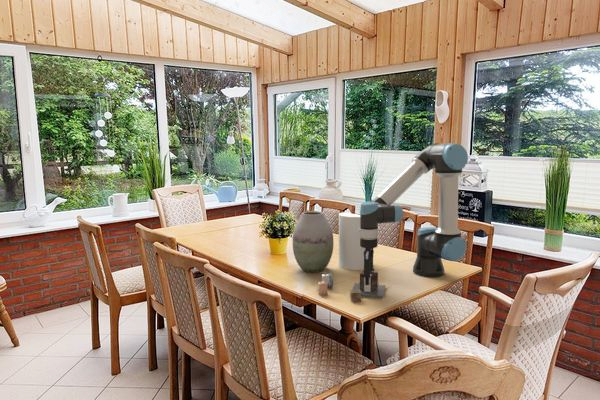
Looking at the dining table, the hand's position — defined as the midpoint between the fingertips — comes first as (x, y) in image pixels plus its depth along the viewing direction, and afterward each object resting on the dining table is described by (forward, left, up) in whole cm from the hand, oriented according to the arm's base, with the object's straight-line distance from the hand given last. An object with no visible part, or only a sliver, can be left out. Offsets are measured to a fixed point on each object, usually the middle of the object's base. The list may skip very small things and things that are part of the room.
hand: (368, 288), depth 187 cm
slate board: (0, 0, -2) cm, 2 cm away
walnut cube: (+4, +11, -2) cm, 12 cm away
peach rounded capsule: (+19, +7, -2) cm, 20 cm away
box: (0, 0, -1) cm, 1 cm away
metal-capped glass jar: (+19, -2, -2) cm, 19 cm away
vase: (+32, -27, -2) cm, 42 cm away
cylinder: (+12, -39, -2) cm, 41 cm away
